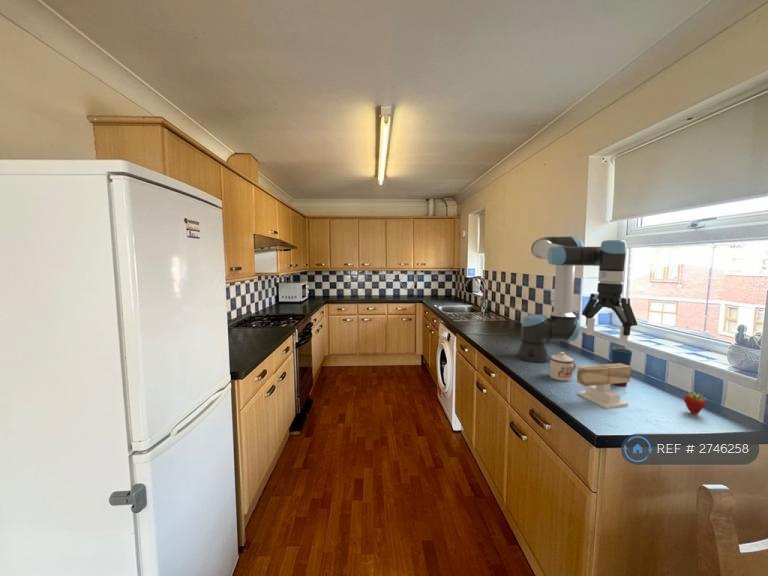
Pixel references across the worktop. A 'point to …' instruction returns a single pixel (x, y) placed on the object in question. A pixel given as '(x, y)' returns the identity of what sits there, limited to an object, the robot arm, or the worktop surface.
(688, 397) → the fruit
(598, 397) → the fulcrum
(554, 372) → the teacup with lid
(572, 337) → the robot arm
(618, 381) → the beam
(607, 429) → the worktop surface
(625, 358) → the cup
